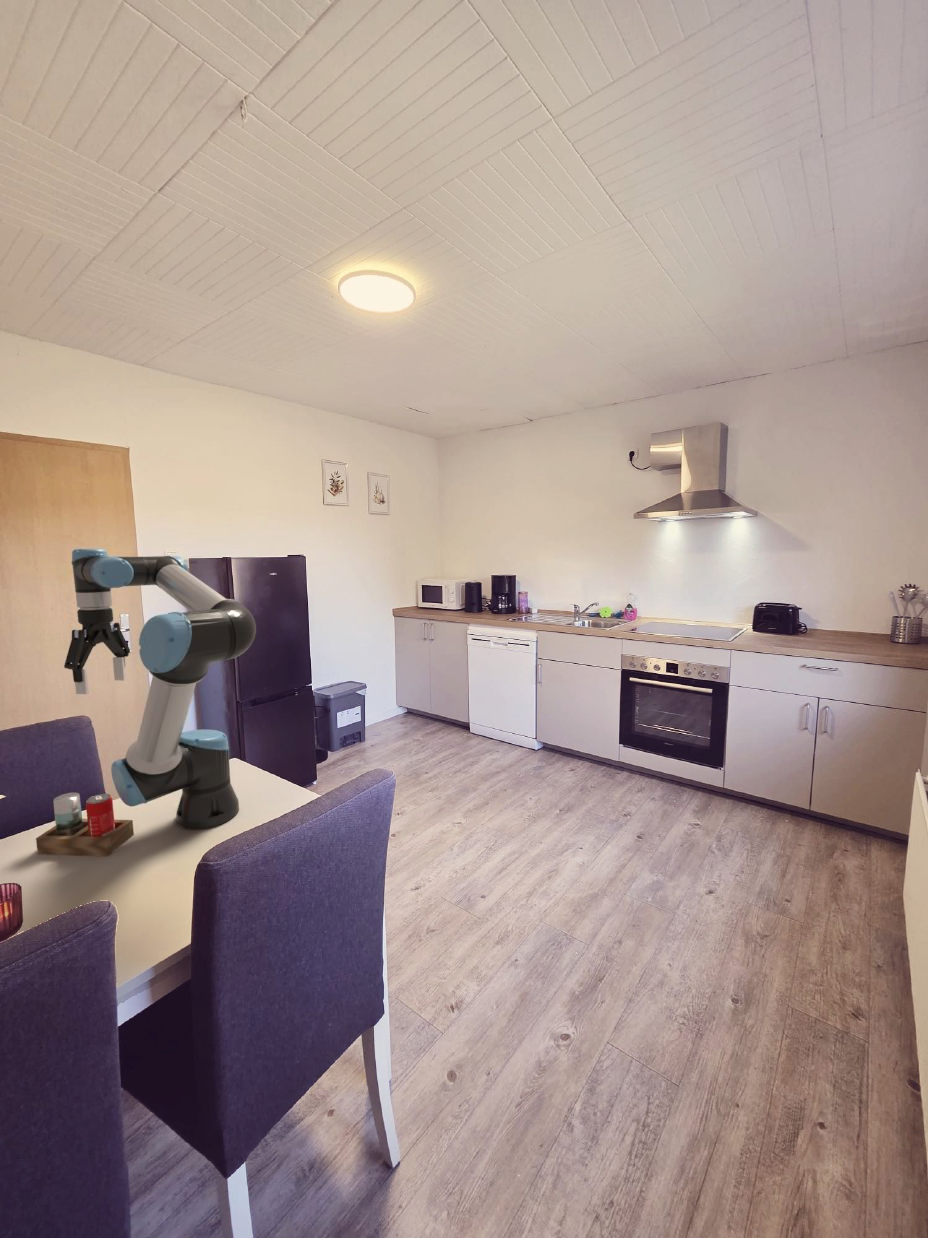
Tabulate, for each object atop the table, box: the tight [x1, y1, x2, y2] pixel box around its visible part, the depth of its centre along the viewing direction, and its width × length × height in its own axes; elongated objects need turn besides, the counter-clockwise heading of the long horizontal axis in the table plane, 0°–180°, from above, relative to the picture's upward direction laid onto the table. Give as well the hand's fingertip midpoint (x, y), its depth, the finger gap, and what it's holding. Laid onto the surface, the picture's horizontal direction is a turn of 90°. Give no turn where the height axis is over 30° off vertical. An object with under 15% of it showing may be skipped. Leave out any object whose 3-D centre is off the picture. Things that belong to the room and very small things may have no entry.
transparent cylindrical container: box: [52, 792, 83, 836], centre depth 124 cm, size 5×5×12 cm
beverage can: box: [85, 793, 115, 837], centre depth 123 cm, size 5×5×12 cm
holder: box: [35, 818, 135, 857], centre depth 124 cm, size 17×9×4 cm, turn 88°
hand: (102, 686), depth 137 cm, fingers open, 13 cm apart
